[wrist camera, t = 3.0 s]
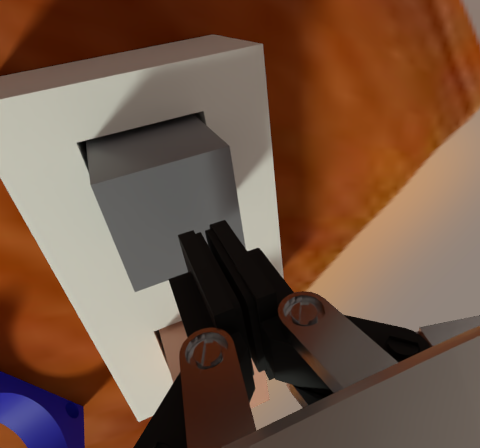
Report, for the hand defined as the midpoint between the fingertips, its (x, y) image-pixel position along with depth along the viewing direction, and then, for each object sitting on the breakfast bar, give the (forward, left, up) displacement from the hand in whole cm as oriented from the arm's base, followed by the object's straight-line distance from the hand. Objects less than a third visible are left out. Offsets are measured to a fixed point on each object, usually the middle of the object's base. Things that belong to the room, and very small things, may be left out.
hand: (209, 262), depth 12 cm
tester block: (+6, 0, -13) cm, 14 cm away
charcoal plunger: (0, 0, -9) cm, 9 cm away
